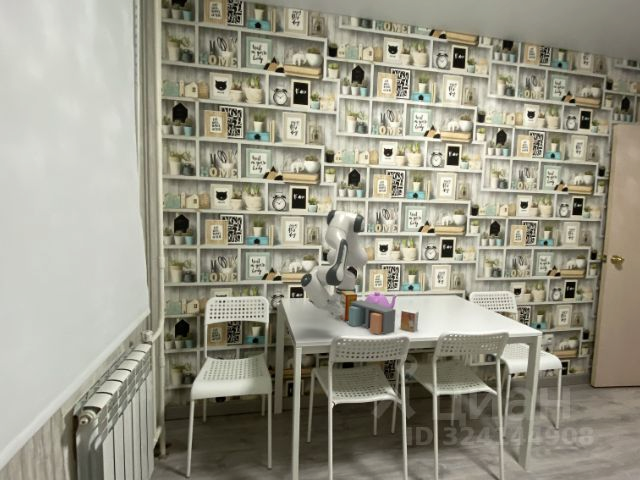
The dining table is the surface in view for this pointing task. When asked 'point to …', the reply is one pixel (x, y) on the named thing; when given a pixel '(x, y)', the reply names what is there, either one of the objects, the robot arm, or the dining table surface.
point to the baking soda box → (347, 303)
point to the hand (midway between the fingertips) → (335, 314)
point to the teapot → (381, 300)
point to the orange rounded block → (376, 323)
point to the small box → (409, 320)
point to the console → (372, 308)
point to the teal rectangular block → (356, 316)
